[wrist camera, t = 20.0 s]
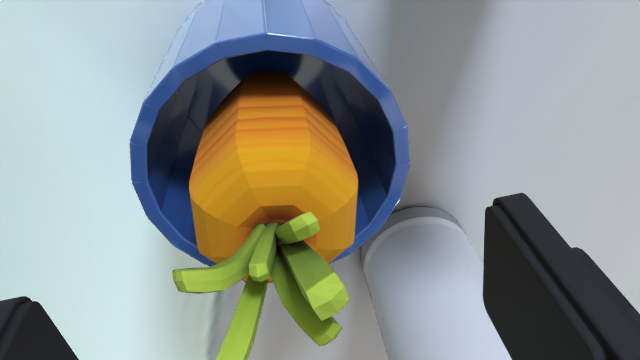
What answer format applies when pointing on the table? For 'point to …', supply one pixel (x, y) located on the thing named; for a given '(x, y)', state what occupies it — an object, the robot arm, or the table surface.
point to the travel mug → (429, 289)
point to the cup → (265, 56)
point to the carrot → (272, 207)
